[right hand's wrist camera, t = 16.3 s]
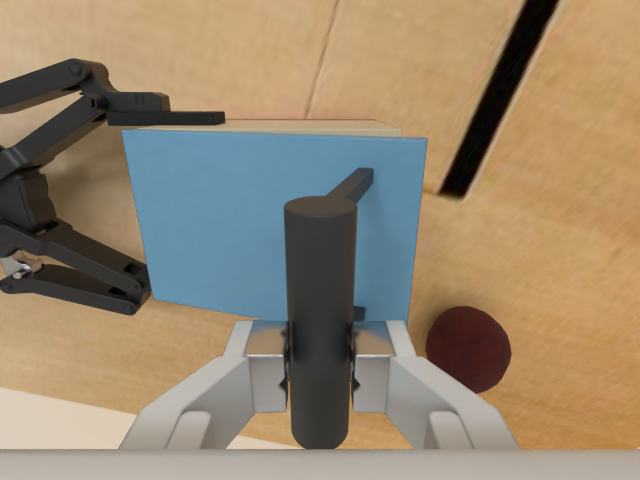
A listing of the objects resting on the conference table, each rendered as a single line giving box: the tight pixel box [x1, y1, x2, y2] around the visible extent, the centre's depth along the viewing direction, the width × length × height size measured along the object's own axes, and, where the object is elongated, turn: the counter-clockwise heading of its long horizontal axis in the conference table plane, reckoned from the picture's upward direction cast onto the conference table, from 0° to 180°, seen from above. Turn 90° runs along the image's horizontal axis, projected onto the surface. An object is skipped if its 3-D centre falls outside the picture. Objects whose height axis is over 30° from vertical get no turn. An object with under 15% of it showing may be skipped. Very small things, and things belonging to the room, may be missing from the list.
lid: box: [121, 129, 428, 449], centre depth 15 cm, size 15×10×9 cm, turn 89°
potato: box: [425, 306, 511, 394], centre depth 33 cm, size 7×8×7 cm
